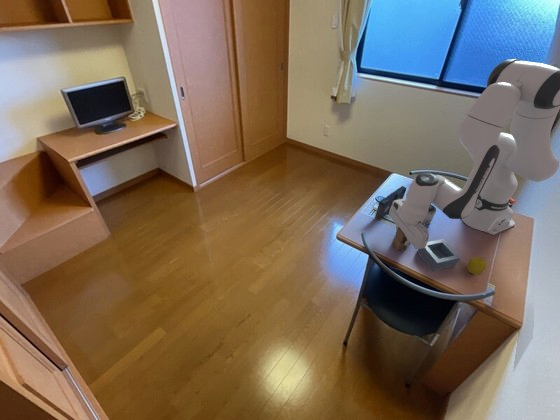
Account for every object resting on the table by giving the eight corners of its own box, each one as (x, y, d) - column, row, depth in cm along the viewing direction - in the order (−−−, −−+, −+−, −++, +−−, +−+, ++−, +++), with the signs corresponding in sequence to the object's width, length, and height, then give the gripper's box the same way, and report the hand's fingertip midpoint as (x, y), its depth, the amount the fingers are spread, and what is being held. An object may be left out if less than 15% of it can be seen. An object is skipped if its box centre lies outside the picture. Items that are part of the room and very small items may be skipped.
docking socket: (438, 247, 117) (443, 238, 114) (455, 266, 110) (460, 257, 106) (417, 251, 115) (421, 243, 112) (432, 271, 108) (437, 262, 105)
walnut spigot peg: (400, 242, 119) (407, 225, 112) (405, 249, 116) (413, 232, 109) (391, 244, 118) (398, 227, 111) (396, 251, 115) (404, 234, 109)
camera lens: (433, 223, 128) (440, 210, 123) (421, 225, 127) (427, 212, 121) (425, 214, 132) (431, 201, 127) (413, 216, 131) (418, 203, 126)
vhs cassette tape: (396, 201, 139) (402, 185, 133) (401, 204, 138) (408, 188, 131) (373, 217, 131) (378, 200, 124) (378, 221, 129) (384, 204, 122)
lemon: (462, 264, 110) (472, 251, 105) (478, 269, 109) (489, 255, 103) (463, 275, 106) (473, 262, 101) (480, 280, 105) (491, 267, 99)
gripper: (438, 231, 98) (424, 257, 107) (404, 196, 113) (395, 221, 122) (422, 234, 97) (409, 260, 106) (390, 198, 112) (382, 223, 121)
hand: (401, 239), depth 114 cm, fingers closed on walnut spigot peg, 4 cm apart
